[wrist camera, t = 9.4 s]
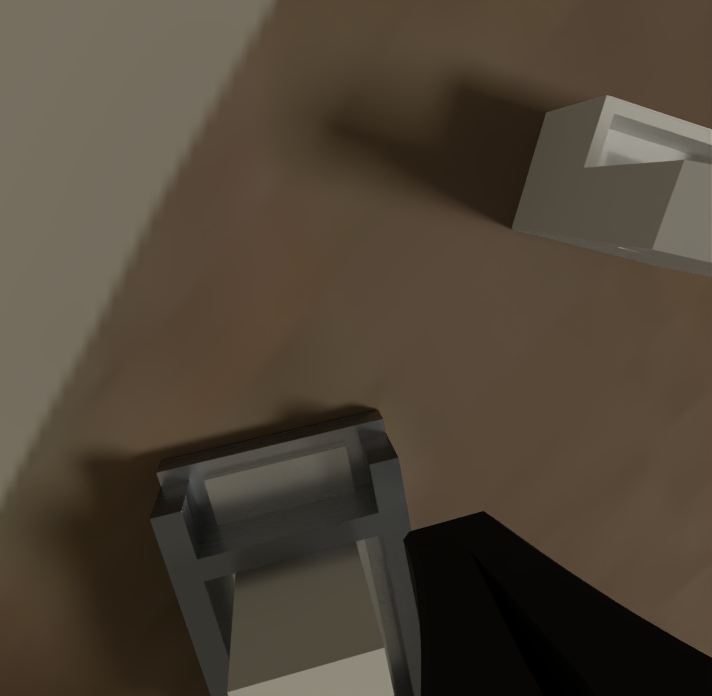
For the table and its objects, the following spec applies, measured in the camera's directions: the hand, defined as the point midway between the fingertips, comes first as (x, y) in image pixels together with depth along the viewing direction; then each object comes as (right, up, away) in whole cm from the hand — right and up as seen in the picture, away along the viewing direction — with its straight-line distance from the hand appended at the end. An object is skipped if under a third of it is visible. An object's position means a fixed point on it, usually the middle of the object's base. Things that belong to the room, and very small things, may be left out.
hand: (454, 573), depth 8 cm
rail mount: (-3, -6, +12) cm, 14 cm away
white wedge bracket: (+7, +9, +10) cm, 15 cm away
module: (-3, -6, +11) cm, 13 cm away
